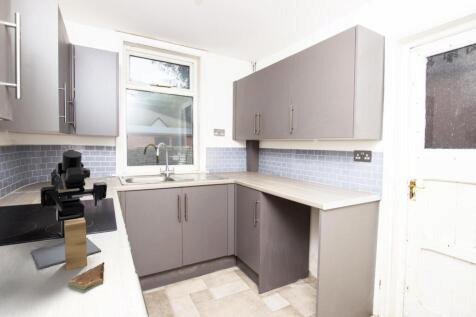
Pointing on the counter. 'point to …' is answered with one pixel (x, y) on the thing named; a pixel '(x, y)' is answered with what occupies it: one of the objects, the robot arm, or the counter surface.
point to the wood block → (75, 243)
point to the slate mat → (58, 254)
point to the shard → (89, 278)
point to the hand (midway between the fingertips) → (79, 207)
